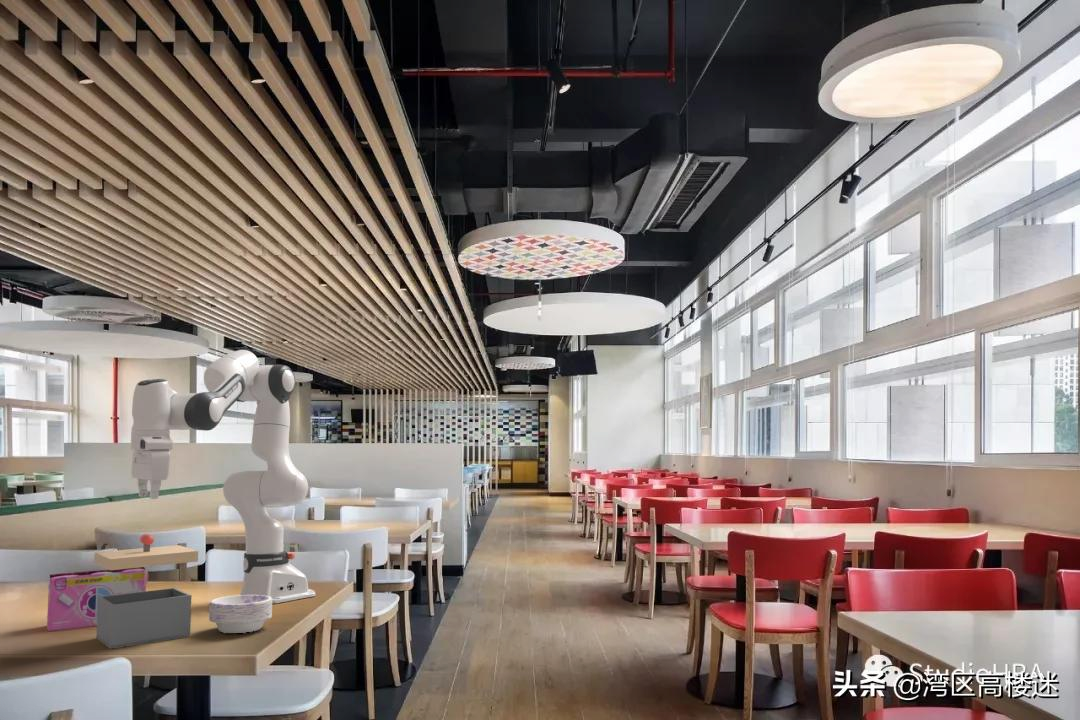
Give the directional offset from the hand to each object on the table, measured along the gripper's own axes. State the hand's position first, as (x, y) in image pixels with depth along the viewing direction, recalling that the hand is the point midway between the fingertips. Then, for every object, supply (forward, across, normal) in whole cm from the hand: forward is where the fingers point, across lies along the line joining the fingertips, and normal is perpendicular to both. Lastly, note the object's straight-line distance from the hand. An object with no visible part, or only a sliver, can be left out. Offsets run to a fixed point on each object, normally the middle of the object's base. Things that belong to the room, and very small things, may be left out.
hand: (148, 497), depth 204 cm
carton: (+34, 0, 0) cm, 34 cm away
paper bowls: (+34, +9, +21) cm, 41 cm away
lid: (+16, 0, 0) cm, 16 cm away
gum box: (+35, -26, -5) cm, 44 cm away
